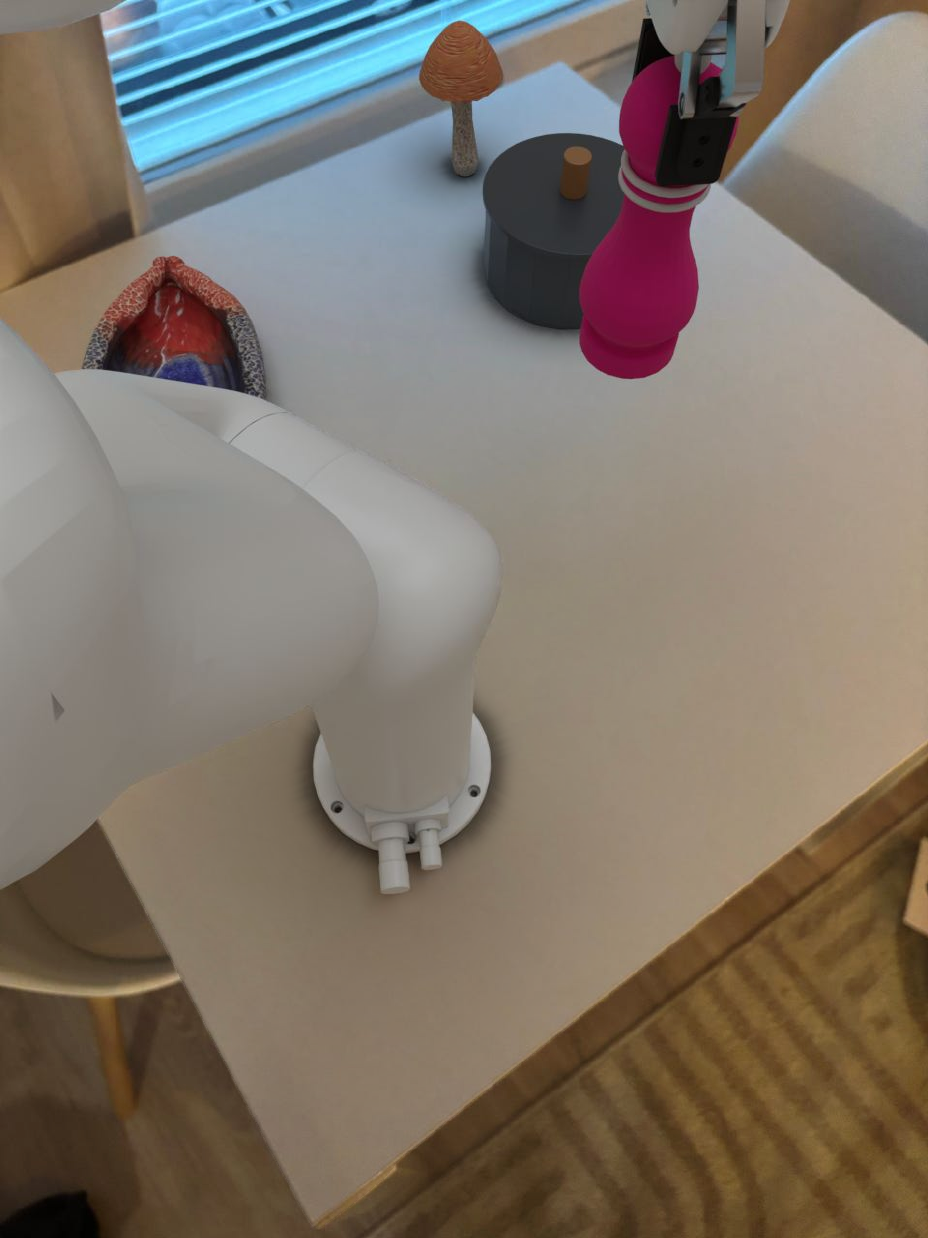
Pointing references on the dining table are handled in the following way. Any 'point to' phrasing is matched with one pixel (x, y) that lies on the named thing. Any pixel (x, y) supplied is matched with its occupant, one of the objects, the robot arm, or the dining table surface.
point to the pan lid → (556, 193)
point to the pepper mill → (644, 241)
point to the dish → (179, 332)
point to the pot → (533, 281)
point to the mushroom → (461, 83)
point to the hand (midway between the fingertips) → (673, 134)
